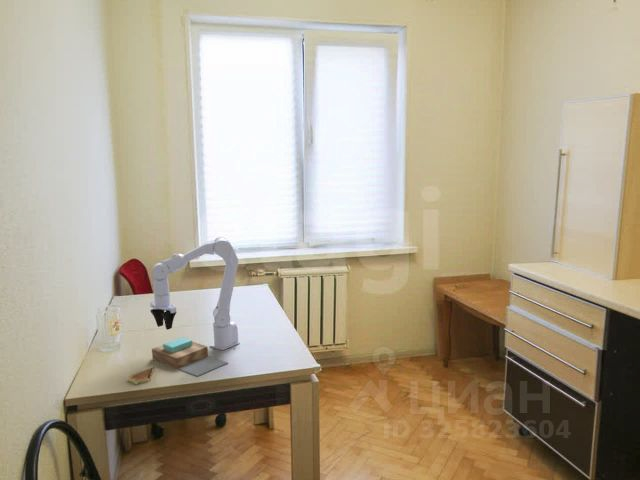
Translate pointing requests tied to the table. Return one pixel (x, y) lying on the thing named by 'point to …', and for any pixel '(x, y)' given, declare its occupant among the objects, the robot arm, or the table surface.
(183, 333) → the table surface
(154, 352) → the brown wooden flat block
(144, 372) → the shard
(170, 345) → the aqua rectangular block
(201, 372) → the grey flat slab
